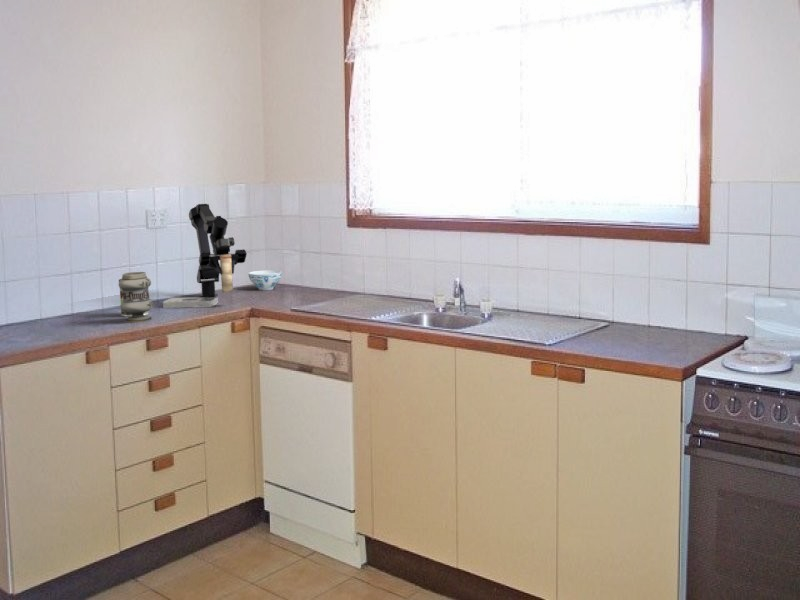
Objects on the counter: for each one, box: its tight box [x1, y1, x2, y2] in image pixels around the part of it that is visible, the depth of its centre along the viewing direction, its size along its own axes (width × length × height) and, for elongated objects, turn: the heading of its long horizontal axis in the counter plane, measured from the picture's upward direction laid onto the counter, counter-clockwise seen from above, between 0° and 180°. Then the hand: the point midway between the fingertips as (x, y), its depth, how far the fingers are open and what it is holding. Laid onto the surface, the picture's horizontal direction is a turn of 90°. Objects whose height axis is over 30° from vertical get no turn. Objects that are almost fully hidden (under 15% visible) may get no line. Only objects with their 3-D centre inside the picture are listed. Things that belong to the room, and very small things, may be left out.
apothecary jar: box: [118, 271, 154, 323], centre depth 357 cm, size 12×12×18 cm
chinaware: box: [247, 269, 283, 291], centre depth 432 cm, size 15×15×8 cm
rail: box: [162, 296, 219, 309], centre depth 391 cm, size 10×20×2 cm, turn 85°
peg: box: [219, 253, 234, 294], centre depth 384 cm, size 4×4×15 cm
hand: (227, 273), depth 383 cm, fingers closed on peg, 4 cm apart
